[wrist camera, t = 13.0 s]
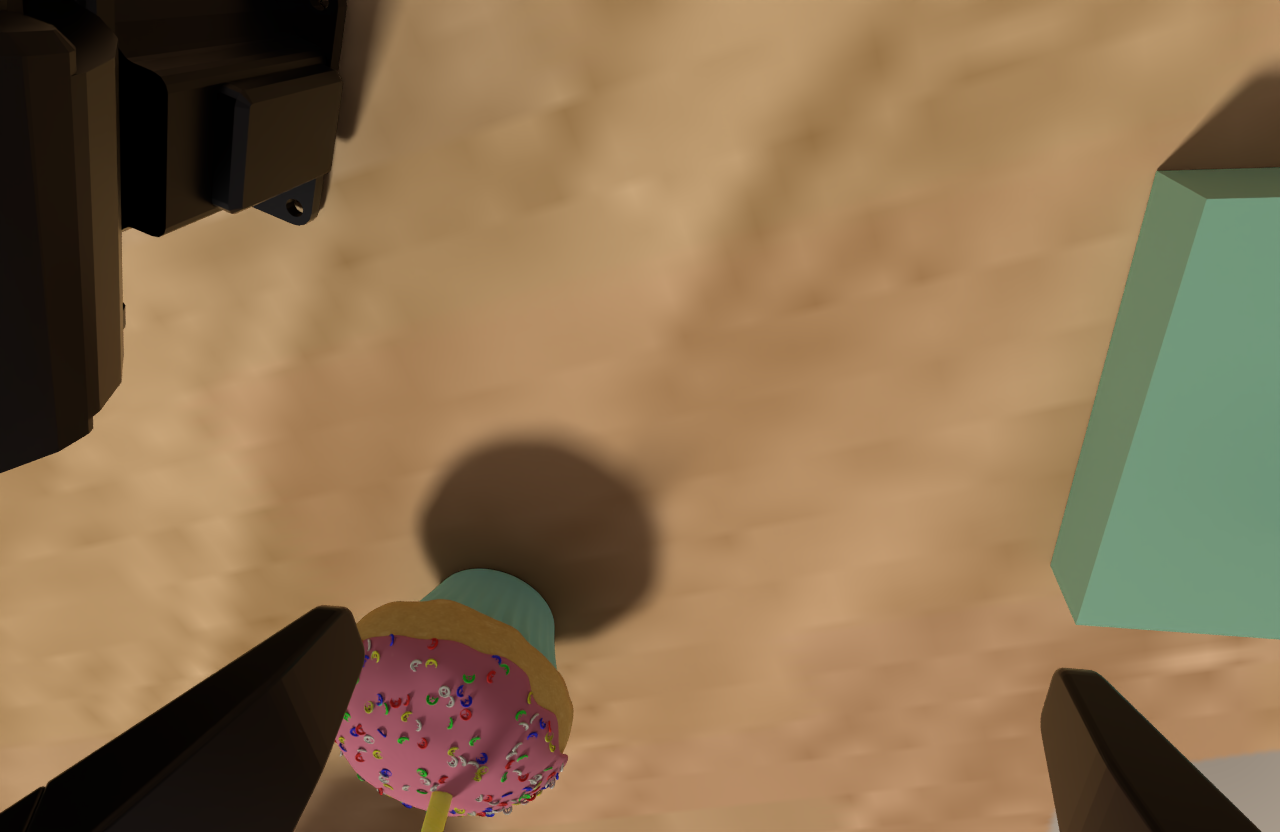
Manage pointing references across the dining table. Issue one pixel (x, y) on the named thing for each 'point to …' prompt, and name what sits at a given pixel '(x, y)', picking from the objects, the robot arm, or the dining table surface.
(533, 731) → the cupcake
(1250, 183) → the coupler stand
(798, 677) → the dining table surface
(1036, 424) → the dining table surface
